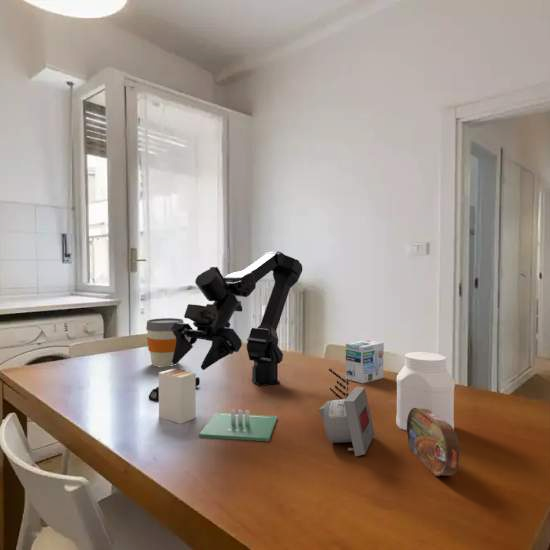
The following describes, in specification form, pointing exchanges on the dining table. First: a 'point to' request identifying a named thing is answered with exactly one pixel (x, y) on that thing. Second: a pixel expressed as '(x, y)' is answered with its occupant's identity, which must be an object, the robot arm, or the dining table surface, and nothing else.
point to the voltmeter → (348, 419)
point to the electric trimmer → (155, 392)
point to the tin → (433, 441)
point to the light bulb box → (364, 361)
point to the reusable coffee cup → (161, 340)
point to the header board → (239, 426)
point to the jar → (425, 387)
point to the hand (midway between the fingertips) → (187, 365)
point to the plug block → (177, 395)
